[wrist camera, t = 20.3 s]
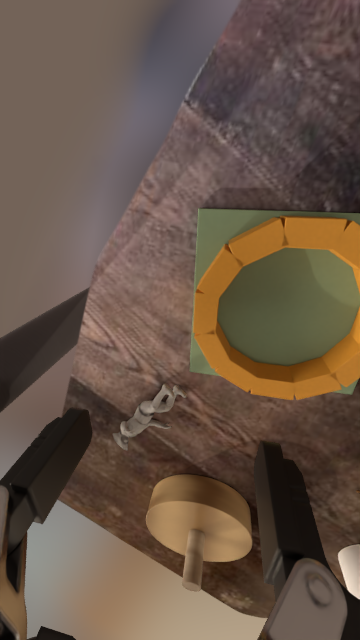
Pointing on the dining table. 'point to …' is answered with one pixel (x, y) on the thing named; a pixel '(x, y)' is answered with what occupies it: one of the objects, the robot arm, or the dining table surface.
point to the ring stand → (199, 522)
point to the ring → (270, 236)
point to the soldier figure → (147, 415)
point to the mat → (277, 294)
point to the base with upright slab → (351, 568)
